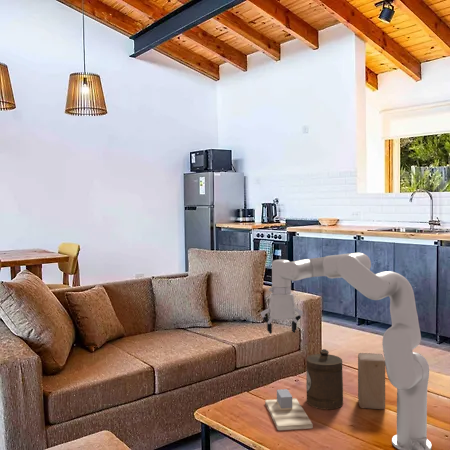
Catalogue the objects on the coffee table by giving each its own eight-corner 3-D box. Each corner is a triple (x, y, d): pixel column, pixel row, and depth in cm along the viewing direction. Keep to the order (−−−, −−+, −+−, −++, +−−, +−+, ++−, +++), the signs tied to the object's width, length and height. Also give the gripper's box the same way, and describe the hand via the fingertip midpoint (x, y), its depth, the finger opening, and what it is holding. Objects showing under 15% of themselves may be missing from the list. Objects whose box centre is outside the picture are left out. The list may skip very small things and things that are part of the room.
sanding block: (292, 409, 196) (292, 396, 195) (281, 409, 195) (281, 397, 195) (287, 401, 204) (287, 389, 203) (276, 401, 203) (276, 389, 203)
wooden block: (385, 410, 197) (385, 360, 196) (359, 408, 199) (359, 359, 198) (382, 400, 207) (382, 353, 206) (357, 398, 209) (357, 351, 208)
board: (312, 428, 183) (312, 424, 183) (277, 430, 181) (277, 426, 181) (296, 401, 207) (296, 398, 206) (265, 403, 205) (265, 400, 205)
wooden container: (314, 392, 216) (313, 342, 215) (347, 399, 208) (347, 347, 207) (301, 405, 203) (300, 352, 202) (336, 412, 196) (336, 357, 194)
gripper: (262, 292, 196) (262, 335, 197) (305, 291, 198) (305, 333, 198) (258, 289, 203) (259, 330, 204) (300, 288, 205) (300, 329, 206)
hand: (281, 332), depth 201 cm, fingers open, 9 cm apart
